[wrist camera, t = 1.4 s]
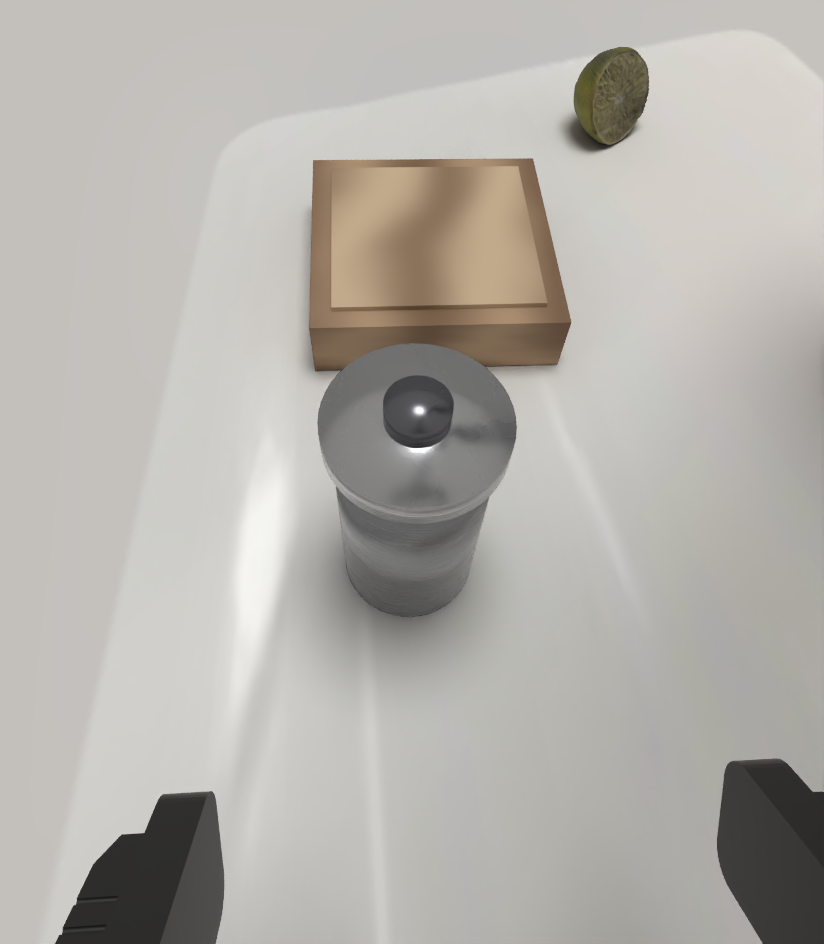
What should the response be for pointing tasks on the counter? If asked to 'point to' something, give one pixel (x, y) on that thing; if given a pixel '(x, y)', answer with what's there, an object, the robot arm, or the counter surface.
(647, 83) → the lime
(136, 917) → the robot arm
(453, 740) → the counter surface
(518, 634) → the counter surface
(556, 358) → the stand
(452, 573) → the grey lidded canister
